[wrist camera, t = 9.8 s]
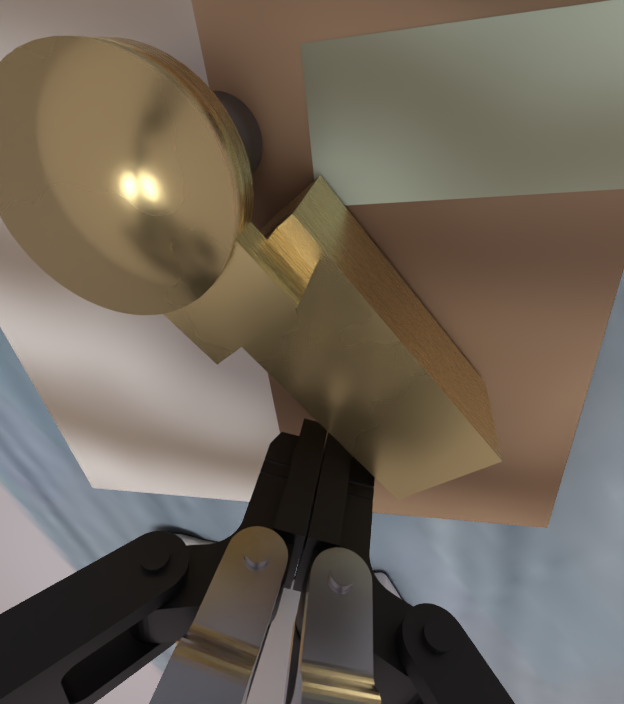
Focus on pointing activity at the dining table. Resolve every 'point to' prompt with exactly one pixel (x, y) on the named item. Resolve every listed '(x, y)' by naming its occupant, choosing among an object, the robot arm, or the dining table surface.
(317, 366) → the latch bar
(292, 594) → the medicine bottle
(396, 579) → the dining table surface
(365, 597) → the robot arm
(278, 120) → the door board
